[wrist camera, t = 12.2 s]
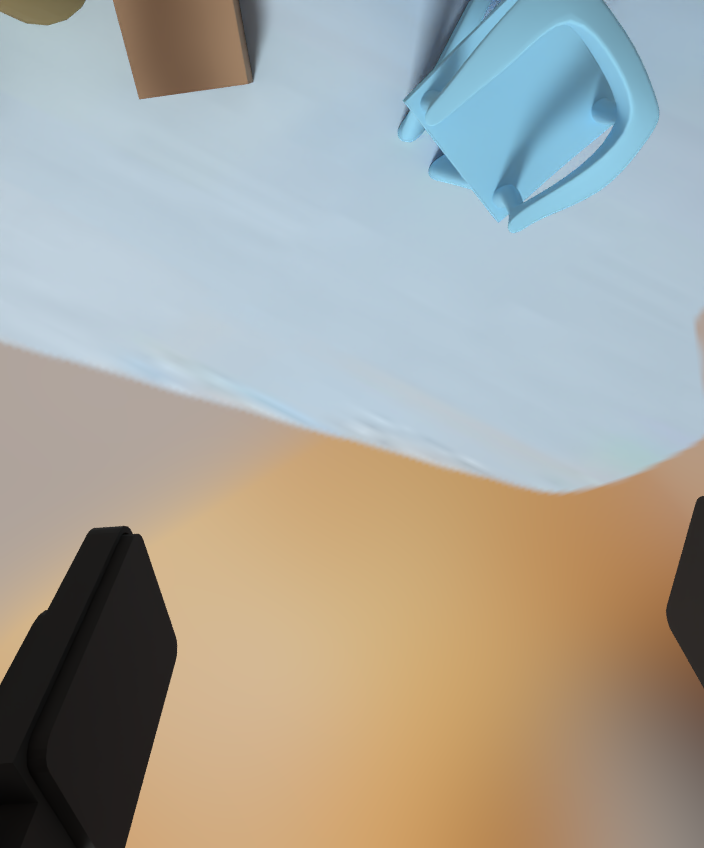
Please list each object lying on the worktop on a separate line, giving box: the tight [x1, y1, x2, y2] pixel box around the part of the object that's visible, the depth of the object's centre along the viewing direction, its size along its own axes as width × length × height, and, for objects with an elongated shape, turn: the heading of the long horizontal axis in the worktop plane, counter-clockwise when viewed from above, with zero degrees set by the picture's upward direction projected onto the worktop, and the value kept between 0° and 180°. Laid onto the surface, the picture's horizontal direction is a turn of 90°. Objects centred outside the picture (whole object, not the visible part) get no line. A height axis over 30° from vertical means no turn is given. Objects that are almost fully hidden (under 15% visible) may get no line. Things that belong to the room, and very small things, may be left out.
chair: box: [398, 0, 659, 233], centre depth 25 cm, size 8×8×12 cm
